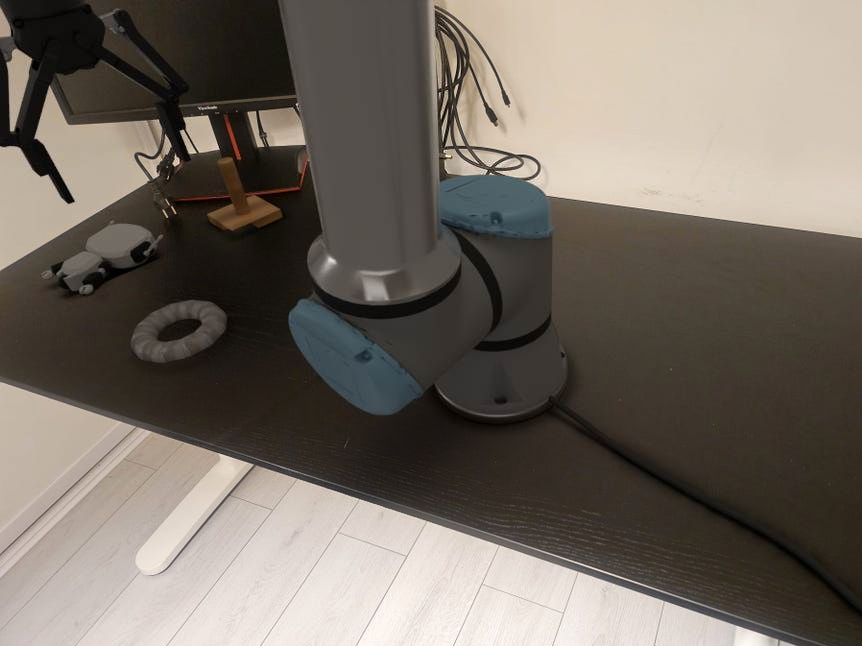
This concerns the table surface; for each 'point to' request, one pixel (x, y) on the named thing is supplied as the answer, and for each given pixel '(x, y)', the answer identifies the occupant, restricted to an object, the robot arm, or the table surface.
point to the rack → (241, 203)
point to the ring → (162, 352)
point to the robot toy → (104, 257)
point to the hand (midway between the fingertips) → (128, 178)
